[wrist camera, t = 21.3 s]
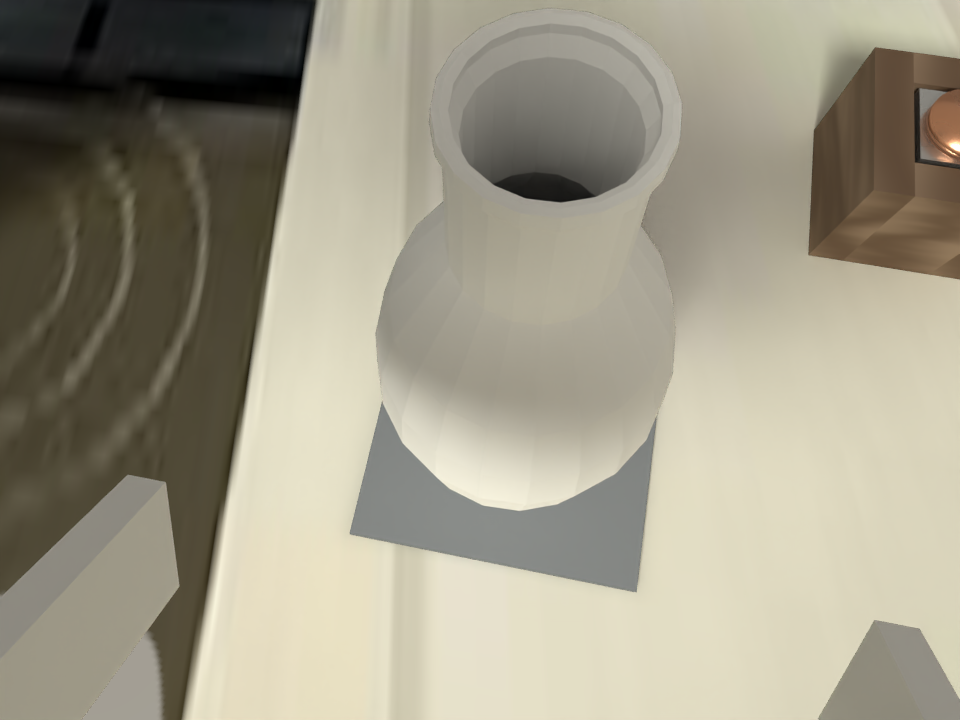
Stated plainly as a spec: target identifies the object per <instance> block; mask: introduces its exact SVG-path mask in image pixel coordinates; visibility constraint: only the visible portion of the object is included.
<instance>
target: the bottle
mask: <svg viewBox="0 0 960 720" xmlns="http://www.w3.org/2000/svg"><path fill="white" fill-rule="evenodd" d="M681 118H682V101H681V98H680V95H679V92H678V89H677V86H676V83H675V80H674V77H673V74H672V72H671V70H670V69H669V68H668V66H667V65H666V64H665V62H664V61H663V60H662V59H661V57H660V56H659V55H658V53H657V52H656V51H655V49H654V48H653V47H652V45H650V44H649V43H648V42H646V41H645V40H643V39H642V38H641V37H639V36H638V35H636V34H635V33H634V32H632V31H631V30H629V29H628V28H626V27H625V26H624V25H622V24H620V23H617V22H614V21H611V20H609V19H606V18H603V17H601V16H598V15H595V14H592V13H590V12H585V11H575V10H565V9H555V8H547V9H540V10H533V11H526V12H520V13H513V14H511V15H509V16H506V17H504V18H502V19H499V20H497V21H495V22H492V23H490V24H488V25H485V26H483V27H481V28H479V29H478V30H477V31H476V32H475V33H473V34H472V35H471V36H470V37H469V38H467V39H466V40H465V41H464V42H462V43H461V44H460V45H459V46H458V47H456V48H455V49H454V50H453V52H452V53H451V55H450V57H449V58H448V60H447V61H446V63H445V65H444V66H443V68H442V69H441V71H440V73H439V74H438V76H437V77H436V81H435V86H434V91H433V96H432V101H431V106H430V114H429V125H430V131H431V137H432V142H433V148H434V154H435V157H436V158H437V160H438V162H439V163H440V165H441V167H442V173H443V200H444V201H443V202H442V203H441V204H440V205H439V206H437V207H436V208H435V209H434V210H433V211H432V212H431V213H430V214H429V215H427V216H426V217H425V218H424V219H423V220H422V221H421V222H420V223H418V224H417V225H416V227H415V229H414V231H413V232H412V234H411V236H410V237H409V239H408V241H407V242H406V244H405V246H404V248H403V249H402V251H401V253H400V254H399V256H398V258H397V259H396V262H395V265H394V267H393V270H392V273H391V275H390V278H389V280H388V283H387V286H386V288H385V291H384V296H383V301H382V305H381V310H380V315H379V320H378V325H377V329H376V347H377V362H378V369H379V377H380V385H381V393H382V401H383V405H384V407H385V409H386V411H387V413H388V415H389V417H390V419H391V421H392V423H393V425H394V427H395V429H396V431H397V433H398V435H399V437H400V439H401V441H402V443H403V444H404V445H405V446H406V447H407V448H408V449H409V450H410V451H411V452H412V453H413V454H414V455H415V456H416V457H417V458H418V459H419V460H420V461H421V462H422V463H423V464H424V465H425V466H426V467H427V468H428V469H429V470H430V471H431V472H432V473H433V474H434V475H435V476H436V477H437V478H438V479H439V480H440V481H441V482H442V483H443V484H445V485H446V486H447V487H448V488H449V489H451V490H453V491H455V492H457V493H459V494H461V495H463V496H465V497H467V498H469V499H471V500H473V501H475V502H477V503H479V504H481V505H483V506H490V507H496V508H503V509H510V510H517V511H522V510H528V509H534V508H540V507H545V506H551V505H557V504H559V503H561V502H563V501H565V500H568V499H570V498H572V497H574V496H576V495H578V494H579V493H581V492H583V491H585V490H587V489H589V488H590V487H592V486H594V485H596V484H598V483H600V482H601V481H603V480H605V479H607V478H609V477H611V476H612V475H614V474H616V473H617V472H618V471H619V469H620V468H621V467H622V466H623V465H624V464H625V463H626V462H627V461H628V460H629V458H630V457H631V456H632V455H633V454H634V453H635V452H636V451H637V450H638V449H639V447H640V446H641V445H642V444H643V443H644V442H645V441H646V440H647V437H648V435H649V433H650V430H651V428H652V425H653V423H654V421H655V418H656V416H657V414H658V411H659V409H660V407H661V404H662V402H663V399H664V397H665V394H666V391H667V388H668V385H669V383H670V380H671V377H672V374H673V362H674V345H675V318H674V308H673V298H672V292H671V289H670V285H669V282H668V278H667V275H666V271H665V268H664V264H663V261H662V257H661V254H660V253H659V251H658V250H657V248H656V247H655V245H654V244H653V242H652V241H651V240H650V238H649V237H648V235H647V234H646V232H645V231H644V229H643V228H642V226H641V223H642V220H643V217H644V213H645V210H646V207H647V204H648V201H649V198H650V195H651V192H652V191H654V190H655V189H656V188H657V187H658V186H659V185H660V184H661V183H662V182H663V180H664V178H665V176H666V173H667V171H668V169H669V167H670V165H671V163H672V161H673V159H674V156H675V154H676V152H677V150H678V145H679V141H680V134H681Z"/></svg>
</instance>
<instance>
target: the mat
mask: <svg viewBox="0 0 960 720" xmlns="http://www.w3.org/2000/svg"><path fill="white" fill-rule="evenodd" d="M655 424H656V418H655V421H654V423H653V425H652V428H651V430H650V433H649V435H648V437H647V440H646V441H645V442H644V443H643V444H642V445H641V446H640V447H639V449H638V450H637V451H636V452H635V453H634V454H633V455H632V456H631V457H630V458H629V460H628V461H627V462H626V463H625V464H624V465H623V466H622V467H621V468H620V469H619V471H618V472H617V473H616V474H614V475H612V476H611V477H609V478H607V479H605V480H603V481H601V482H600V483H598V484H596V485H594V486H592V487H590V488H589V489H587V490H585V491H583V492H581V493H579V494H578V495H576V496H574V497H572V498H570V499H568V500H565V501H563V502H561V503H559V504H557V505H551V506H545V507H540V508H534V509H528V510H522V511H517V510H510V509H503V508H496V507H490V506H483V505H481V504H479V503H477V502H475V501H473V500H471V499H469V498H467V497H465V496H463V495H461V494H459V493H457V492H455V491H453V490H451V489H449V488H448V487H447V486H446V485H445V484H443V483H442V482H441V481H440V480H439V479H438V478H437V477H436V476H435V475H434V474H433V473H432V472H431V471H430V470H429V469H428V468H427V467H426V466H425V465H424V464H423V463H422V462H421V461H420V460H419V459H418V458H417V457H416V456H415V455H414V454H413V453H412V452H411V451H410V450H409V449H408V448H407V447H406V446H405V445H404V444H403V443H402V441H401V439H400V437H399V435H398V433H397V431H396V429H395V427H394V425H393V423H392V421H391V419H390V417H389V415H388V413H387V411H386V409H385V407H384V405H383V401H382V404H381V408H380V412H379V416H378V420H377V424H376V428H375V433H374V437H373V441H372V445H371V449H370V453H369V457H368V461H367V465H366V469H365V473H364V477H363V481H362V485H361V489H360V493H359V497H358V501H357V505H356V510H355V514H354V518H353V522H352V526H351V530H350V534H351V535H356V536H361V537H366V538H371V539H376V540H381V541H386V542H391V543H395V544H400V545H405V546H410V547H415V548H420V549H425V550H430V551H435V552H440V553H445V554H450V555H455V556H460V557H465V558H469V559H474V560H479V561H484V562H489V563H494V564H499V565H504V566H509V567H514V568H519V569H524V570H529V571H534V572H538V573H543V574H548V575H553V576H558V577H563V578H568V579H573V580H578V581H583V582H588V583H593V584H598V585H603V586H608V587H612V588H617V589H622V590H627V591H632V592H637V583H638V574H639V565H640V556H641V548H642V539H643V530H644V521H645V512H646V504H647V495H648V486H649V477H650V468H651V460H652V451H653V442H654V433H655Z"/></svg>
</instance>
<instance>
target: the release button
mask: <svg viewBox="0 0 960 720" xmlns="http://www.w3.org/2000/svg"><path fill="white" fill-rule="evenodd" d="M914 137H915V163H922V164H928V165H935V166H942V167H949V168H955V169H960V89H957V90H952V91H949V92H943V91H936V90H928V89H921V88H919V90H918V91H917V92H916V93H915V94H914Z"/></svg>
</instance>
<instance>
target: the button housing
mask: <svg viewBox="0 0 960 720" xmlns="http://www.w3.org/2000/svg"><path fill="white" fill-rule="evenodd" d="M919 88H921V89H928V90H936V91H943V92H949V91H952V90H957V89H960V59H957V58H950V57H942V56H935V55H928V54H920V53H913V52H906V51H898V50H891V49H883V48H876V47H875V49H874V50H873V51H872V53H871V54H870V55H869V57H868V58H867V59H866V61H865V62H864V64H863V65H862V66H861V68H860V69H859V70H858V72H857V73H856V74H855V76H854V77H853V79H852V80H851V81H850V83H849V84H848V85H847V87H846V88H845V89H844V91H843V92H842V94H841V95H840V96H839V98H838V99H837V100H836V102H835V103H834V104H833V106H832V107H831V109H830V110H829V111H828V113H827V114H826V115H825V117H824V118H823V119H822V121H821V122H820V124H819V125H818V126H817V128H816V129H815V130H814V146H813V169H812V191H811V214H810V237H809V255H812V256H818V257H824V258H831V259H837V260H843V261H849V262H856V263H862V264H868V265H874V266H881V267H887V268H893V269H899V270H905V271H912V272H918V273H924V274H930V275H937V276H943V277H949V278H955V279H960V169H955V168H949V167H942V166H935V165H928V164H922V163H915V137H914V94H915V93H916V92H917V91H918V90H919Z"/></svg>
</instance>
